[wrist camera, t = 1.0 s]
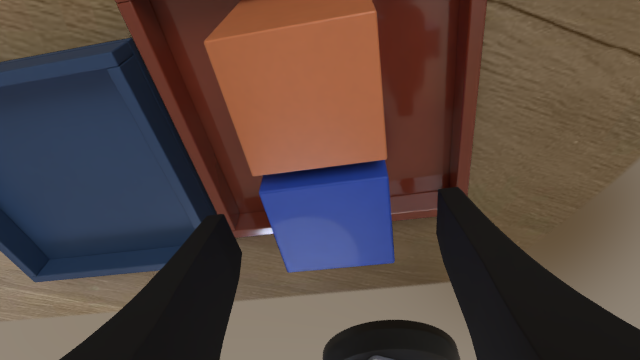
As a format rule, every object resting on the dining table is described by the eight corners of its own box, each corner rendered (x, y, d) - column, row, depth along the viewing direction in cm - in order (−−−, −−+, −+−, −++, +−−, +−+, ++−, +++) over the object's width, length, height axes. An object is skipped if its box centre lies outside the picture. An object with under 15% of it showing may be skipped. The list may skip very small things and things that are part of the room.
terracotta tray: (456, 190, 17) (466, 213, 16) (235, 215, 18) (228, 239, 17) (477, -97, 10) (497, -97, 9) (130, -24, 12) (106, -15, 11)
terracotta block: (373, 92, 14) (387, 160, 10) (271, 108, 14) (252, 177, 11) (362, -25, 11) (377, 9, 8) (240, -1, 12) (202, 41, 8)
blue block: (381, 185, 16) (395, 263, 13) (296, 195, 17) (287, 273, 13) (374, 107, 14) (388, 176, 10) (275, 121, 15) (257, 193, 11)
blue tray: (230, 241, 20) (223, 264, 18) (52, 259, 21) (34, 282, 20) (132, 37, 13) (111, 52, 12) (-119, 84, 14) (-162, 101, 13)
